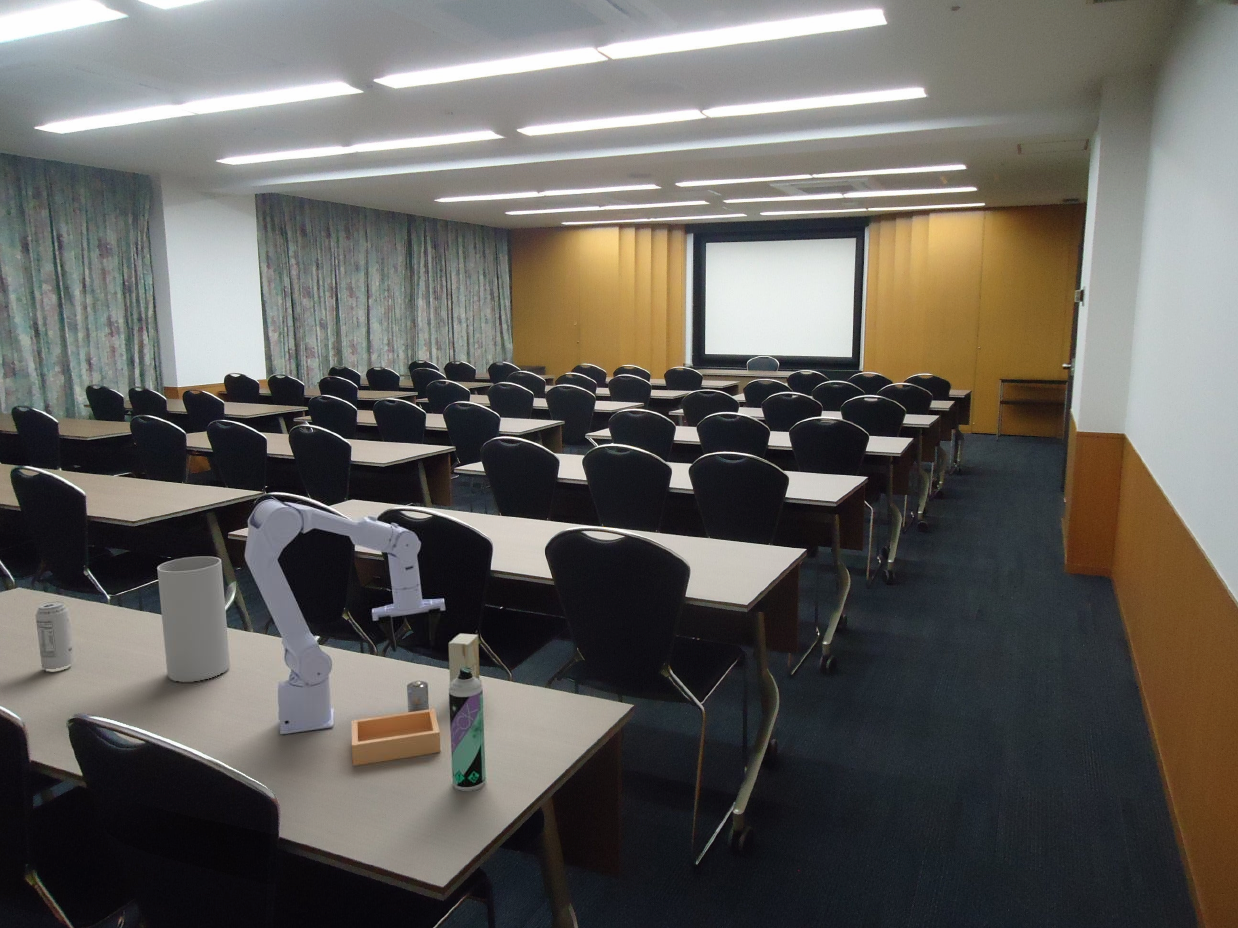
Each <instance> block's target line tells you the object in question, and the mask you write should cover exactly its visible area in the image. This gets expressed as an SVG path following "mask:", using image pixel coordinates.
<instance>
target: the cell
mask: <svg viewBox="0 0 1238 928" xmlns="http://www.w3.org/2000/svg"><path fill="white" fill-rule="evenodd" d="M406 691H407V693H406V694H407V696H406V697H407V712H415V711H422V710H429V709H430V707H429V705H430V702H429V684H428V682H427V681H423V680H415V681H412V682H409V683H408V684H406Z"/></svg>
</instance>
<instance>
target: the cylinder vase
mask: <svg viewBox="0 0 1238 928" xmlns="http://www.w3.org/2000/svg"><path fill="white" fill-rule="evenodd" d="M222 565H223V564H222V559H221V558H219V557H215V556H191V557H190V556H189V557H182V558H178V559H177V558H176V559H173V560H170V561H166V562H163V563H161V564H159V565H158V566H157V568H156V569H157V578H158V589H159V590H158V592H159V601H160V610H161V611H160V612H161V621H162V633H163V642H164V654H165V664H166V673H167V676H168V678H169V679H170V680H171V681H173V682H176V681H179V682H178V683H195V682H194V681H198V682H201V681H200V680H203V681H205V680H204V679H208V680H210V679H209V678H211V679H213V678H212V677H214V676H216V677H218V676H217V675H219V676H221V675H222V674H221V673H223V674H224V673H225V672H226V671H228V670H229V668H230V666H231V661H230V659H231V658H230V650H229V649H230V647H229V637H228V626H227V613H226V601H225V590H224V577H223V576H224V575H223V566H222ZM220 674H221V675H220ZM214 678H215V677H214Z"/></svg>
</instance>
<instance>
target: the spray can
mask: <svg viewBox="0 0 1238 928" xmlns="http://www.w3.org/2000/svg"><path fill="white" fill-rule="evenodd" d="M482 682H483V681H482V680H481V679H480V678H479V679H478V678H476V677H474V675H473V674H472V673H471V671H470V668H467V667H464V668H461V669H460V674H459V675H458V676H457V678H456V679H454V680H453V681H451V682H450V681H449V684H448V685H449V686H448V702H449V704H448V705H449V726H450V727H449V728H450V730H449V731H450V748H451V749H450V752H451V773H452V774H451V775H452V786H453V788H454V789H455V790H457V791H460V790H461V791H460V792H472V790H473V791H476V790H479V789H480V788H482V787H484V786H485V784H486V780H487V777H486V776H487V774H486V750H485V749H486V748H485V747H486V746H485V721H484V720H485V717H484V693H483V689H484V688H483V687H484V686H483V683H482ZM463 790H464V791H463Z"/></svg>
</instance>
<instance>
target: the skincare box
mask: <svg viewBox="0 0 1238 928" xmlns="http://www.w3.org/2000/svg"><path fill="white" fill-rule="evenodd" d="M479 651H480V650H479V634H473V633H472V634H470V633H459V634H458V635H456V636H455V637H454V638H452V640H450V641H449V642H448V668H449V669H448V670H449V683H450V682H451V681H453V680H454V679H456V678H457V676H458V675H459V674H460V669H461V668H464V667H467V668H470V671H471V673H472V674H473V675H474V677H476V678H478V679H480V657H479V656H480V655H479Z"/></svg>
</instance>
